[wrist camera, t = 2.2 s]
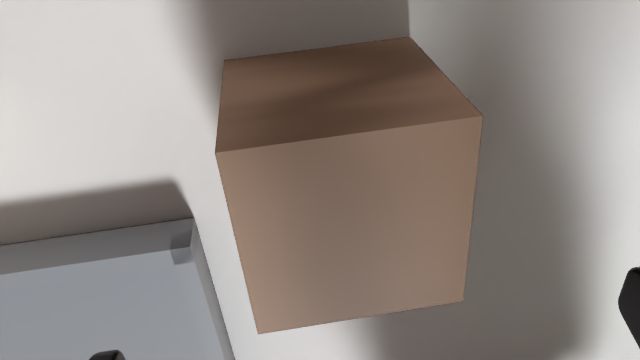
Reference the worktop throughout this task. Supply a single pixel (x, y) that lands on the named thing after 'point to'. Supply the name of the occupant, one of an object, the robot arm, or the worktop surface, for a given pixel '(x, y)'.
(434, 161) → the walnut block
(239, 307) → the worktop surface
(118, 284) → the tray
